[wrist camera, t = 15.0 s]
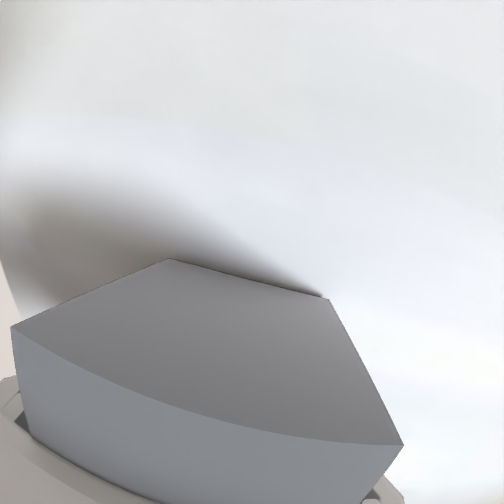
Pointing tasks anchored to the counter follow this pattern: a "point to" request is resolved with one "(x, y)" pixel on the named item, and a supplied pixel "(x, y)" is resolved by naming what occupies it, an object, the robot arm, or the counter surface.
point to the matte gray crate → (205, 391)
